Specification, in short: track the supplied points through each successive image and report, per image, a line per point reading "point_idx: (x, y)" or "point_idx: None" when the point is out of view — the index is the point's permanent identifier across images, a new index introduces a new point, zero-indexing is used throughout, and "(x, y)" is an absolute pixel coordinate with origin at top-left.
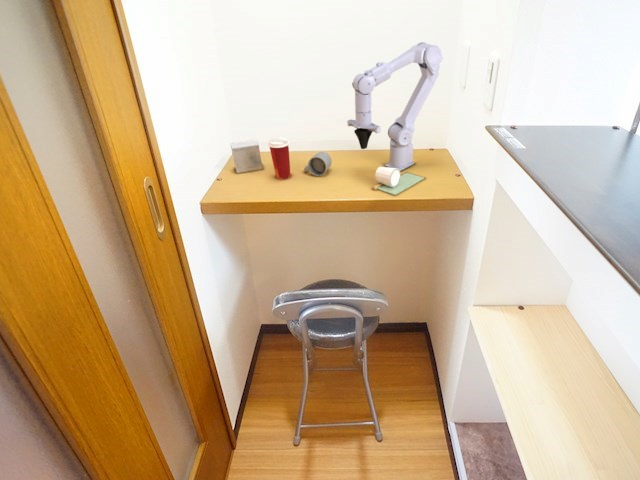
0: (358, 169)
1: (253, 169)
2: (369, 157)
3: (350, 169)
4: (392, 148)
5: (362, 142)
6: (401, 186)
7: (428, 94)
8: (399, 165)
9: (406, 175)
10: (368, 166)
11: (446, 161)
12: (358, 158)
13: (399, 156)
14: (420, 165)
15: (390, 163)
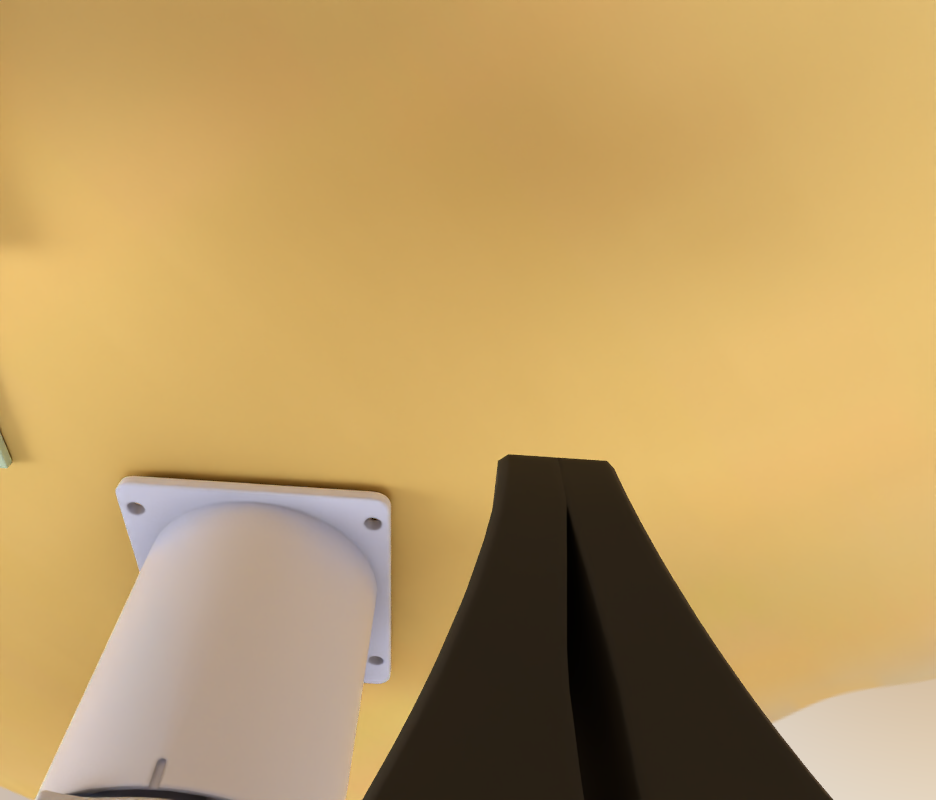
0: (669, 226)
1: None
2: (734, 590)
3: (808, 148)
4: (194, 751)
5: (500, 618)
6: None
7: None
8: (162, 543)
9: None
10: (586, 391)
11: (23, 775)
12: (866, 517)
13: (117, 653)
14: None
15: (303, 540)
